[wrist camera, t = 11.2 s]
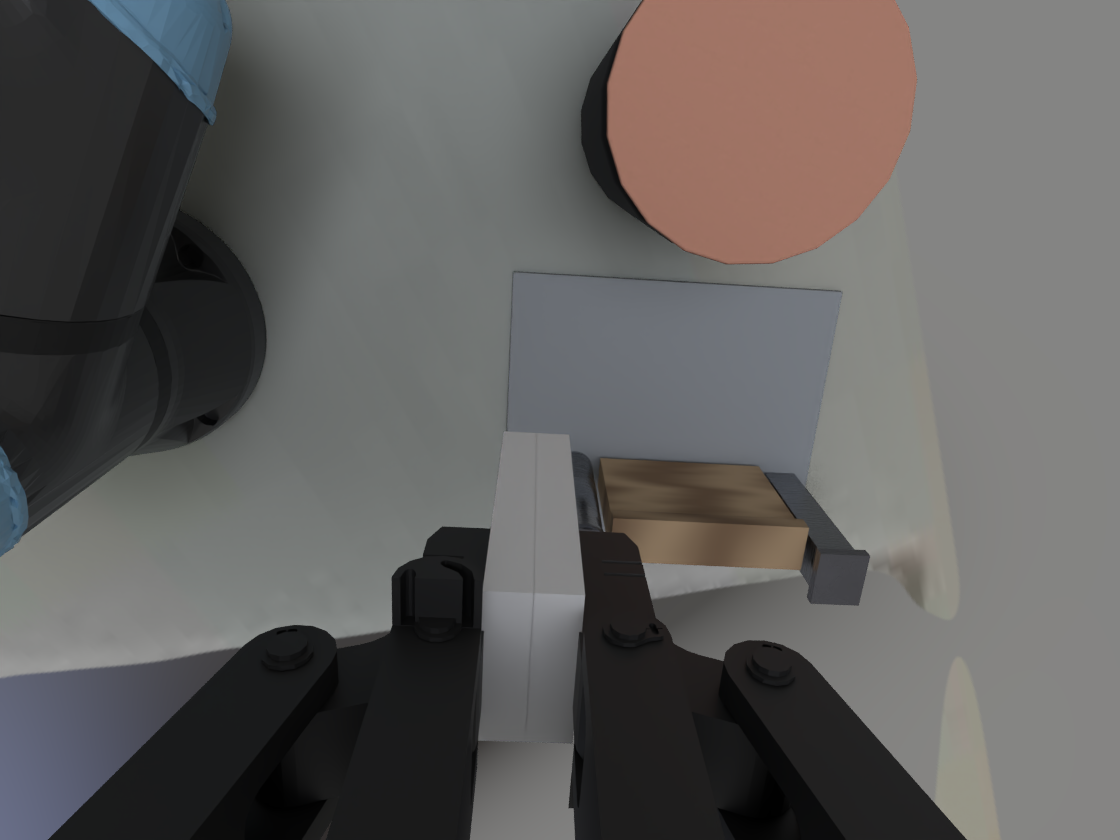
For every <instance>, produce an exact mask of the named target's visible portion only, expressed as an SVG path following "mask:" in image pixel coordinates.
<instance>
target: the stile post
mask: <svg viewBox="0 0 1120 840" xmlns="http://www.w3.org/2000/svg"><path fill="white" fill-rule="evenodd" d="M764 475H765V476H766V478H767V479H768V481H769V482H770V484H771V485H772V486H773V488H774V489H775V491H776V492H777V494H778V495H779V497H780V498H781V499H782V501H783V502H784V504H785V505H786V507H787V508H788V509H789V511H790V512H791V514H792V515H793V517H794V518H795V519H803V520H804V521H805V523H806V524H807V526H808V527H809V531H808V536H807V541H806V546H805V551H804V556H803V561H802V566H801V570H800V572H801V573H802V575H803V577H804V578H805V580H806V582H807V583H808V585H809V589H808V594H807V598H808V600H809V602H810V603H811V604H834V605H859V602H860V597H861V593H862V588H863V584H864V580H865V576H866V572H867V567H868V563H869V559H870V555H869V554H868V553H867V552H866V551H865V550H854V549H853V547H852V546H851V545H850V543H849V542H848V541H847V540H846V538H845V537H844V536H843V535H842V533H841V532H840V531H839V530H838V528H837V527H836V526H835V524H834V523H833V522H832V521H831V519H830V518H829V517H828V516H827V514H826V513H825V512H824V511H823V509H822V508H821V507H820V505H819V504H818V503H817V502H816V500H815V499H814V498H813V497H812V495H811V494H810V493H809V492H808V490H807V489H806V488H805V486H804V485H803V484H802V483H801V481H800V480H799V479H798V478H797V476H796V475H795V474H794V473H774V472H764Z"/></svg>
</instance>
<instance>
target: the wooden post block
mask: <svg viewBox="0 0 1120 840" xmlns="http://www.w3.org/2000/svg"><path fill="white" fill-rule="evenodd" d="M598 491H599V497H600V503H601V509H602V515H603V521H604V527H605V532H617V533H625V534H626V535H627V536H628V537H629V538H630V539H631V540H632V541H633V542H634V543H635V544H636V545H637V546H638V548H639V552H640V556H641V560H642V563H662V564H683V565H705V566H726V567H748V568H769V569H791V570H801V566H802V561H803V556H804V551H805V546H806V541H807V536H808V531H809V527H808V526H807V524H806V523H805V521H804V520H803V519H795V518H794V517H793V515H792V514H791V512H790V511H789V509H788V508H787V507H786V505H785V504H784V502H783V501H782V499H781V498H780V497H779V495H778V494H777V492H776V491H775V489H774V488H773V486H772V485H771V484H770V482H769V481H768V479H767V478H766V476H765V475H764V473H763V472H762V471H761V469H760V468H759V466H743V465H724V464H705V463H686V462H667V461H648V460H629V459H610V458H600V466H599V477H598Z"/></svg>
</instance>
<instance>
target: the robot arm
mask: <svg viewBox="0 0 1120 840" xmlns="http://www.w3.org/2000/svg"><path fill="white" fill-rule="evenodd" d="M231 39H232V18H231V14H230V10H229V7H228V5H227V3H226V0H0V557H1V556H2V555H3V554H4V553H6V552H7V551H9V550H11V549H12V548H14V545H15V544H17V543H18V542H19V541H20V539H21V537H22V536H23V535H25V534H26V533H27V532H29V531H30V530H31V529H33V528H34V527H35V526H37V525H38V524H39V523H41V522H42V521H43V520H45V519H46V518H47V517H49V516H50V515H51V514H53V513H54V512H55V511H57V510H58V509H59V508H61V507H62V506H63V505H65V504H66V503H67V502H69V501H70V500H71V499H73V498H74V497H75V496H77V495H78V494H79V493H81V492H82V491H83V490H85V489H86V488H87V487H89V486H90V485H91V484H93V483H94V482H95V481H97V480H98V479H99V478H101V477H102V476H103V475H105V474H106V473H107V472H109V471H110V470H111V469H113V468H114V467H115V466H117V465H118V464H119V463H121V462H122V461H123V460H124V459H126V458H127V457H128V456H133V455H140V454H147V453H153V452H160V451H166V450H171V449H175V448H179V447H182V446H185V445H187V444H190V443H192V442H194V441H197V440H199V439H201V438H203V437H204V436H206V435H208V434H210V433H211V432H212V431H214V430H215V429H217V428H218V427H219V426H220V425H222V424H223V423H224V422H225V421H226V420H228V419H229V418H230V417H231V416H232V415H233V414H234V413H236V412H237V411H238V410H239V409H240V407H241V406H242V405H243V404H244V403H245V402H246V400H247V399H248V397H249V396H250V394H251V393H252V391H253V389H254V387H255V385H256V383H257V381H258V379H259V376H260V373H261V370H262V367H263V362H264V357H265V349H266V331H265V322H264V317H263V312H262V308H261V304H260V301H259V298H258V295H257V293H256V291H255V288H254V286H253V284H252V282H251V280H250V278H249V276H248V274H247V273H246V271H245V269H244V268H243V266H242V265H241V263H240V262H239V260H238V259H237V258H236V257H235V255H234V254H233V253H232V251H231V250H230V249H229V248H228V247H227V246H226V245H225V244H224V243H223V242H222V241H221V240H220V239H219V238H218V237H217V236H216V235H215V234H214V233H212V232H211V231H210V230H209V229H208V228H206V227H205V226H204V225H202V224H201V223H200V222H198V221H197V220H195V219H193V218H192V217H190V216H189V215H187V214H185V213H183V212H181V211H179V208H180V205H181V202H182V199H183V196H184V193H185V190H186V187H187V184H188V181H189V178H190V175H191V172H192V169H193V166H194V163H195V160H196V157H197V154H198V151H199V149H200V146H201V143H202V140H203V137H204V134H205V131H206V128H207V125H208V124H209V125H212V126H213V124H214V122H215V119H216V113H217V112H216V110H215V108H214V105H213V104H214V101H215V97H216V94H217V90H218V87H219V83H220V80H221V76H222V73H223V69H224V66H225V62H226V59H227V55H228V52H229V48H230V45H231ZM573 730H574V752H573V763H572V775H571V786H570V797H569V808H574V822H575V840H967V839H966V838H965V837H964V836H963V835H962V834H961V833H960V831H959V830H958V829H957V828H956V827H955V826H954V825H953V824H952V822H951V821H950V820H949V819H948V818H947V817H946V816H945V815H944V813H943V812H942V811H941V810H940V809H939V808H938V807H937V805H936V804H935V803H934V802H933V801H932V800H931V799H930V798H929V796H928V795H927V794H926V793H925V792H924V791H923V790H922V789H921V787H920V786H919V785H918V784H917V783H916V782H915V781H914V780H913V778H912V777H911V776H910V775H909V774H908V773H907V771H906V770H905V769H904V768H903V767H902V766H901V765H900V764H899V762H898V761H897V760H896V759H895V758H894V757H893V756H892V755H891V753H890V752H889V751H888V750H887V749H886V748H885V747H884V745H883V744H882V743H881V742H880V741H879V740H878V739H877V738H876V737H875V735H874V734H873V733H872V732H871V731H870V730H869V728H867V726H866V725H865V724H864V723H863V722H862V721H861V719H860V718H859V717H858V716H857V715H856V714H855V713H854V712H853V710H852V709H851V708H850V707H849V706H848V705H847V704H846V702H845V701H844V700H843V699H842V698H841V697H840V696H839V695H838V693H837V692H836V691H835V690H834V689H833V688H832V687H831V685H830V684H829V683H828V682H827V681H826V680H825V679H824V678H823V676H822V675H821V674H820V673H819V672H818V671H817V670H816V669H815V667H813V665H812V664H811V663H810V662H809V661H808V660H806V659H805V658H804V657H803V656H802V655H800V654H799V653H798V652H796V651H794V650H791V649H789V648H787V647H785V646H783V645H780V644H777V643H772V642H768V641H751V640H749V641H744V642H741V643H738V644H734V645H733V646H732V647H731V648H730V649H729V650H727V651H726V653H725V659H724V661H720V660H716V659H712V658H709V657H705V656H701V655H697V654H695V653H691V652H689V651H686V650H684V649H683V648H681V647H678V646H677V645H675V644H674V643H673V641H672V637H671V635H670V633H669V631H668V629H667V628H666V626H665V625H664V624H663V623H662V622H660V621H659V620H658V619H656V618H655V613H654V610H653V605H652V601H651V597H650V593H649V589H648V585H647V581H646V577H645V573H644V569H643V565H642V560H641V556H640V552H639V548H638V546H637V545H636V544H635V543H634V542H633V541H632V540H631V539H630V538H629V537H628V536H627V535H626V534H625V533H617V532H595V531H579V528H578V518H577V508H576V498H575V488H574V478H573V468H572V458H571V448H570V438H569V435H566V434H547V433H527V432H507V431H504V433H503V441H502V448H501V456H500V463H499V471H498V478H497V486H496V493H495V500H494V508H493V515H492V523H491V529H485V528H462V527H441V528H440V529H439V530H438V531H437V532H435V533H434V534H433V535H432V536H431V537H430V538H428V539H427V543H426V546H425V550H424V553H423V557H422V558H419V559H416V560H412V561H409V562H408V563H406V564H404V565H403V566H401V567H399V568H398V569H397V571H396V572H395V573H394V575H393V576H392V628H391V632H390V633H389V634H387V635H386V636H385V637H382V638H380V639H377V640H375V641H372V642H369V643H365V644H361V645H356V646H351V647H345V648H339V649H337V647H336V642H335V639H334V638H333V637H332V636H331V635H330V634H329V633H328V632H327V631H325V630H322V629H319V628H316V627H313V626H302V625H292V626H285V627H280V628H275V629H272V630H270V631H267V632H265V633H262V634H260V635H258V636H256V637H255V638H254V639H252V640H251V641H249V642H248V643H247V644H245V645H244V646H243V647H242V648H241V649H240V650H239V651H238V652H237V653H236V654H235V655H234V656H233V657H232V658H231V659H230V660H229V661H228V662H227V663H226V664H225V665H224V666H223V667H222V668H221V669H220V670H219V671H218V672H217V673H216V674H215V675H214V676H213V677H212V678H211V679H210V680H209V681H208V682H207V683H206V684H205V685H204V686H203V687H202V688H201V689H200V690H199V691H198V692H197V693H196V694H195V695H194V696H193V697H192V698H191V699H190V700H189V701H188V702H187V703H186V704H185V705H184V706H183V707H182V708H181V709H180V710H178V712H176V714H174V715H173V716H172V718H170V720H168V721H167V722H166V723H165V725H163V726H162V727H161V729H159V730H158V731H157V732H156V733H155V734H154V735H153V736H152V737H151V738H150V740H148V741H147V742H146V743H145V744H144V745H143V746H142V747H141V748H140V749H139V750H138V751H137V752H136V753H135V754H134V755H133V756H132V757H131V758H130V759H129V760H128V761H127V762H126V763H125V764H124V765H123V766H122V767H121V768H120V769H119V770H118V771H117V772H116V773H115V774H114V775H113V776H112V777H111V778H110V779H109V780H108V781H107V782H106V783H105V784H104V785H103V786H102V787H101V788H100V789H99V790H98V791H97V792H96V793H95V794H94V795H93V796H92V797H91V798H90V799H89V800H88V801H87V802H86V803H85V804H83V806H81V807H80V808H79V809H78V810H77V812H75V813H74V814H73V815H72V816H71V817H70V818H69V819H68V820H67V821H66V822H65V823H64V824H63V825H62V826H61V827H60V828H59V829H58V830H57V831H56V832H55V833H54V834H53V835H52V836H51V837H50V838H49V839H48V840H320V839H321V837H322V836H323V834H324V832H325V831H326V829H327V827H328V826H329V824H330V823H331V825H330V828H329V832H328V835H327V838H326V840H470V832H471V821H472V812H473V802H474V792H475V781H476V772H477V751H478V740H479V741H511V742H514V741H515V742H542V743H572V742H573V741H572V740H573ZM331 821H332V822H331Z"/></svg>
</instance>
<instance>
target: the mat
mask: <svg viewBox="0 0 1120 840" xmlns="http://www.w3.org/2000/svg"><path fill="white" fill-rule="evenodd" d="M841 297H842V292H841V291H832V290H815V289H799V288H782V287H765V286H748V285H732V284H715V283H698V282H682V281H665V280H648V279H632V278H615V277H598V276H581V275H565V274H548V273H531V272H515V271H514V273H513V297H512V321H511V345H510V369H509V393H508V417H507V432H527V433H547V434H566V435H569V438H570V448H571V452H573V451H576V452H581V453H583V454H585V455H586V456H587V457H588V458H589V459H590V460H591V463H592V467H593V473H594V479H595V485H596V491H597V498H598V504H599V510H600V516H601V522H602V528H603V531H605V527H604V521H603V515H602V509H601V503H600V497H599V491H598V477H599V466H600V458H610V459H629V460H648V461H667V462H686V463H705V464H724V465H743V466H759V468H760V469H761V471H762V472H763V473H764V472H774V473H794V474H795V475H796V476H797V478H798V479H799V480H800V481H801V483H802V484H803V485H804V486H805V485H806V480H807V475H808V470H809V464H810V459H811V454H812V449H813V444H814V438H815V433H816V428H817V423H818V417H819V412H820V407H821V402H822V397H823V391H824V386H825V381H826V376H827V370H828V365H829V360H830V355H831V350H832V344H833V339H834V334H835V329H836V323H837V318H838V313H839V308H840V303H841Z"/></svg>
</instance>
